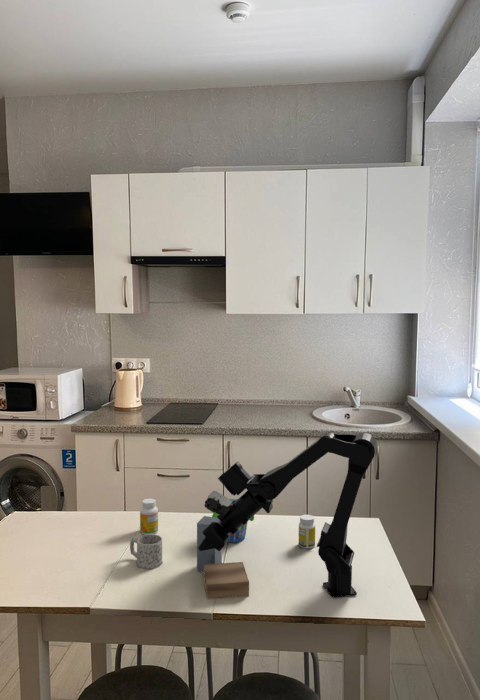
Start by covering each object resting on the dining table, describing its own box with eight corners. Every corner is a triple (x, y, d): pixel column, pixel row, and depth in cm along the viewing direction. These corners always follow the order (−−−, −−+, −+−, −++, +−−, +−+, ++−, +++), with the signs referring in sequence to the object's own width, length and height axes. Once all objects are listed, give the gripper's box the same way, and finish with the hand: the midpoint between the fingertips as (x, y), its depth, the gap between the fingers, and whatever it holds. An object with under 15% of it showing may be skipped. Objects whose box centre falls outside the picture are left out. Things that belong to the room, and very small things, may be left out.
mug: (167, 561, 151) (167, 537, 150) (151, 571, 145) (151, 547, 145) (138, 552, 156) (138, 529, 155) (122, 562, 150) (122, 538, 150)
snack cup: (243, 525, 175) (243, 493, 174) (264, 537, 166) (264, 504, 165) (200, 538, 165) (200, 504, 164) (220, 551, 157) (220, 516, 156)
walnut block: (249, 597, 134) (249, 581, 134) (207, 600, 132) (207, 584, 132) (242, 576, 144) (242, 561, 143) (203, 579, 142) (203, 564, 142)
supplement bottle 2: (314, 542, 163) (315, 514, 162) (315, 549, 158) (315, 520, 158) (298, 541, 164) (298, 513, 163) (298, 548, 159) (298, 520, 158)
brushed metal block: (221, 565, 149) (221, 518, 148) (215, 574, 144) (215, 525, 143) (204, 562, 150) (204, 515, 149) (197, 571, 146) (196, 523, 144)
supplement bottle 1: (138, 529, 171) (137, 499, 170) (155, 526, 173) (155, 496, 172) (142, 536, 166) (142, 505, 165) (160, 533, 168) (160, 502, 167)
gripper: (235, 472, 153) (198, 507, 157) (210, 496, 135) (169, 534, 139) (263, 504, 151) (224, 538, 155) (241, 532, 133) (198, 569, 138)
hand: (204, 543), depth 147 cm, fingers open, 7 cm apart
